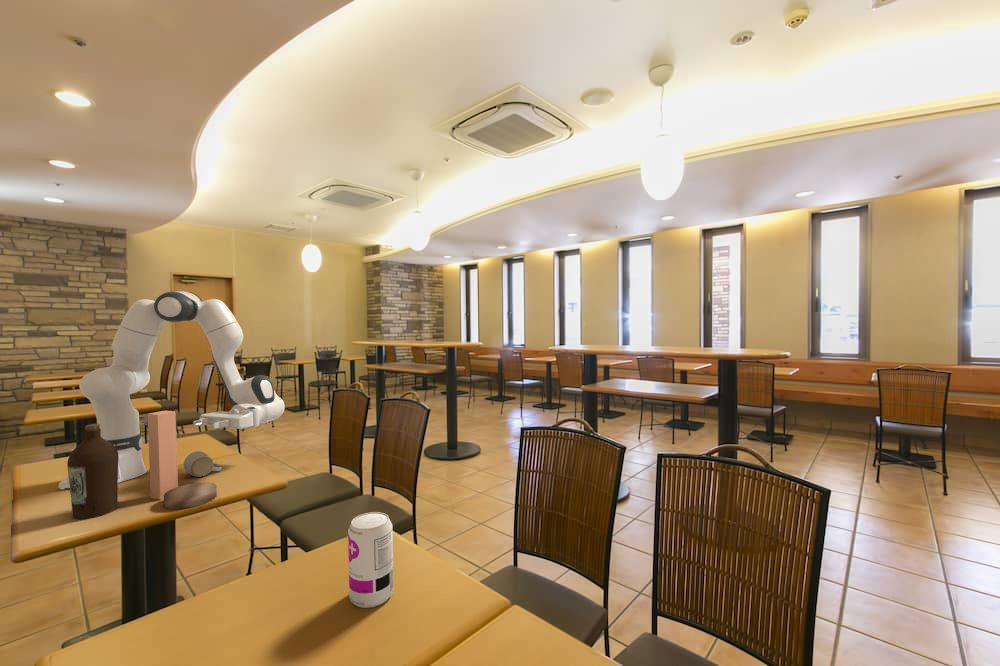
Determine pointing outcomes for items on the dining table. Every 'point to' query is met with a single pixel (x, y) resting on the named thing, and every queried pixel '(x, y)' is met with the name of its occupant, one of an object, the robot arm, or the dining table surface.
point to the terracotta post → (162, 453)
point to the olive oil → (93, 475)
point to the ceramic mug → (200, 464)
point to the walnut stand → (190, 495)
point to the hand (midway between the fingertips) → (203, 424)
